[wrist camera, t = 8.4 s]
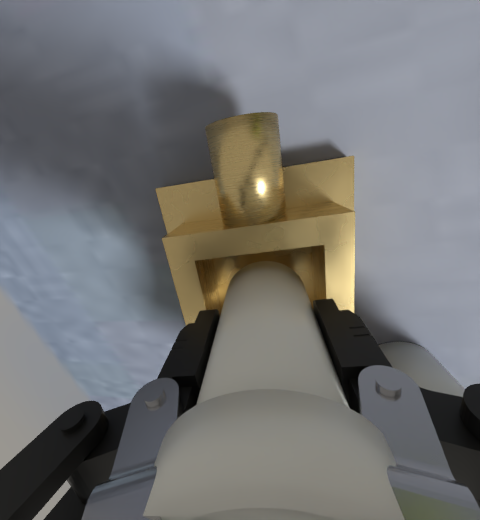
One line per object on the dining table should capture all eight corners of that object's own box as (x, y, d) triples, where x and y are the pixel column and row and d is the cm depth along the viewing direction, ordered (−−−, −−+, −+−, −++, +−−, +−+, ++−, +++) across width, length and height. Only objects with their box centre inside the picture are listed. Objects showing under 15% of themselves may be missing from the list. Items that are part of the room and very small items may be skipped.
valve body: (152, 148, 13) (21, 126, 6) (346, 112, 12) (482, 25, 5) (212, 382, 19) (183, 515, 12) (347, 375, 17) (407, 518, 10)
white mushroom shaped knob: (208, 257, 12) (79, 484, 3) (313, 244, 11) (478, 485, 3) (226, 340, 13) (170, 627, 5) (318, 333, 13) (428, 648, 4)
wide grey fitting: (337, 342, 16) (390, 456, 10) (449, 329, 15) (590, 445, 9) (343, 415, 19) (390, 547, 12) (441, 407, 18) (550, 546, 11)
